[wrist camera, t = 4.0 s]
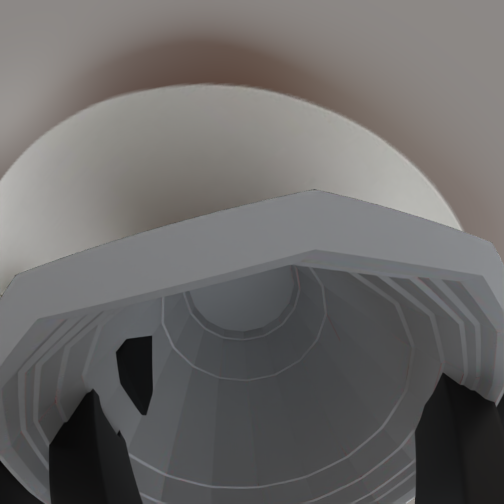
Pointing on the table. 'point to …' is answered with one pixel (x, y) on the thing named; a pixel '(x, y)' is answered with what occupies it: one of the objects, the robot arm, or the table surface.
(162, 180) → the table surface
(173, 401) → the plastic cup
